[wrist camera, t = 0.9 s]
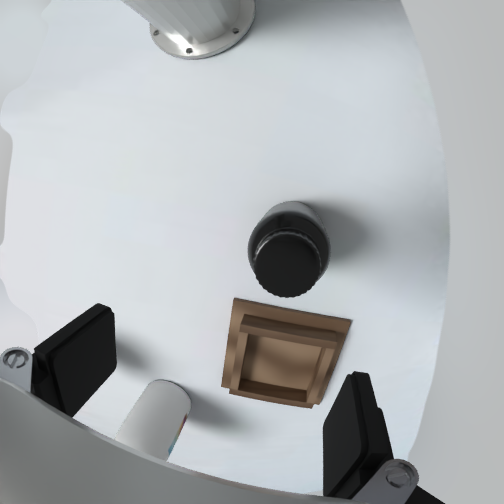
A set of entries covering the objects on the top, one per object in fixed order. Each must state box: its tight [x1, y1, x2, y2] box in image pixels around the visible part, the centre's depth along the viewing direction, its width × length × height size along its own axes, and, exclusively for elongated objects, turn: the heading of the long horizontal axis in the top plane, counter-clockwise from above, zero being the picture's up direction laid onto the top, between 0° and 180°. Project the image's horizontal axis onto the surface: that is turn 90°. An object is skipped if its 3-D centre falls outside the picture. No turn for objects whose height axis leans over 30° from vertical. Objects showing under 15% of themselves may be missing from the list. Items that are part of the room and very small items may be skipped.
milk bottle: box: [114, 380, 191, 461], centre depth 32 cm, size 8×8×20 cm
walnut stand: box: [221, 298, 351, 409], centre depth 35 cm, size 14×14×3 cm
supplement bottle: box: [248, 201, 331, 298], centre depth 26 cm, size 7×7×12 cm
